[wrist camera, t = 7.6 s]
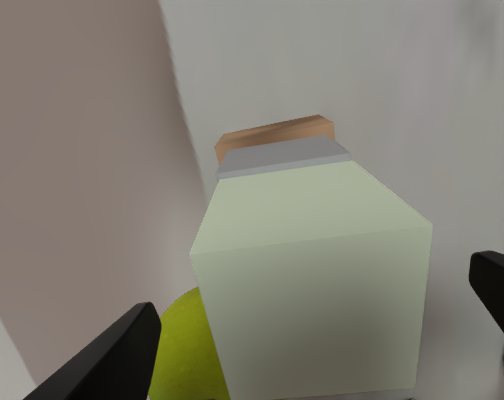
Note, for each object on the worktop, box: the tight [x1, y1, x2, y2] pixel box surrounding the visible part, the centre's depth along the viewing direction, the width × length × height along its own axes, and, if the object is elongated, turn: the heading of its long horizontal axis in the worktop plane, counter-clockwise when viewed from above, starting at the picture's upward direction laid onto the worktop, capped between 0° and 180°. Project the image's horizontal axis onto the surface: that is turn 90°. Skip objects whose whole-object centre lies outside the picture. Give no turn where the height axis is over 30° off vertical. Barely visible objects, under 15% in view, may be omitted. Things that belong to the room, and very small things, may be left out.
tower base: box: [215, 115, 335, 166], centre depth 17 cm, size 6×6×4 cm
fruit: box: [148, 287, 281, 400], centre depth 18 cm, size 9×9×10 cm
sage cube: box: [189, 160, 433, 400], centre depth 9 cm, size 5×5×5 cm
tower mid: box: [216, 134, 351, 182], centre depth 13 cm, size 5×5×4 cm
